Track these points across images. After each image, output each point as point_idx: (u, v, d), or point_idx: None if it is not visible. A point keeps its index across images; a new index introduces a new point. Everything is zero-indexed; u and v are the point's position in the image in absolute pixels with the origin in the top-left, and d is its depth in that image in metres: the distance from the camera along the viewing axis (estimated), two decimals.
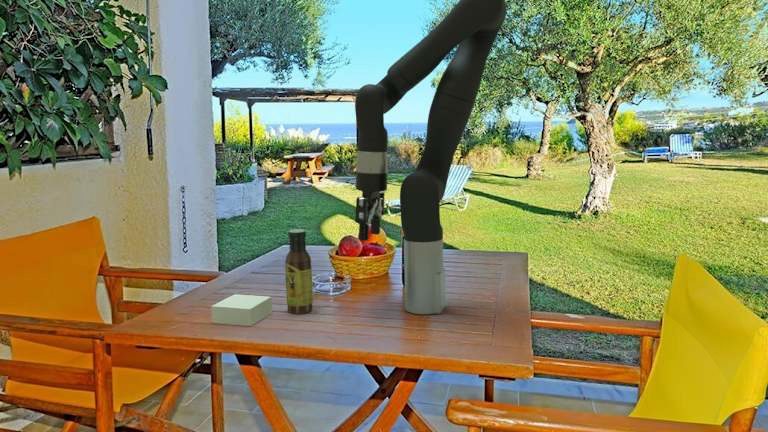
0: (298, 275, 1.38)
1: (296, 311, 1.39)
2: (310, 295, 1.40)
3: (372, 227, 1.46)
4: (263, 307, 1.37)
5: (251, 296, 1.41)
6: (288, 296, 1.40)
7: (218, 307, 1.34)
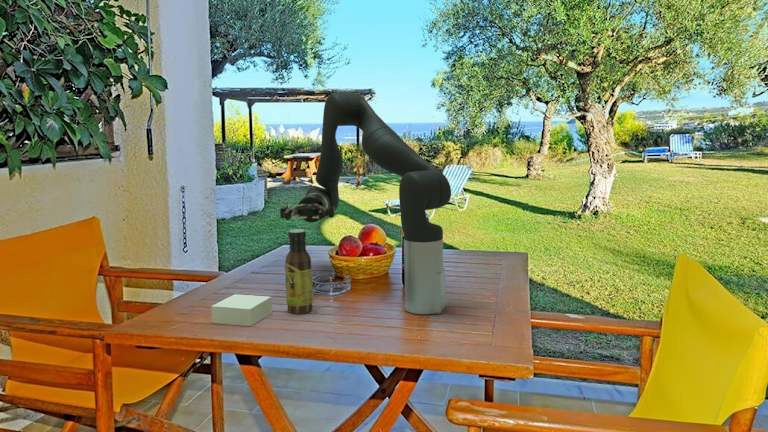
0: (298, 275, 1.38)
1: (296, 311, 1.39)
2: (310, 295, 1.40)
3: None
4: (263, 307, 1.37)
5: (251, 296, 1.41)
6: (288, 296, 1.40)
7: (218, 307, 1.34)
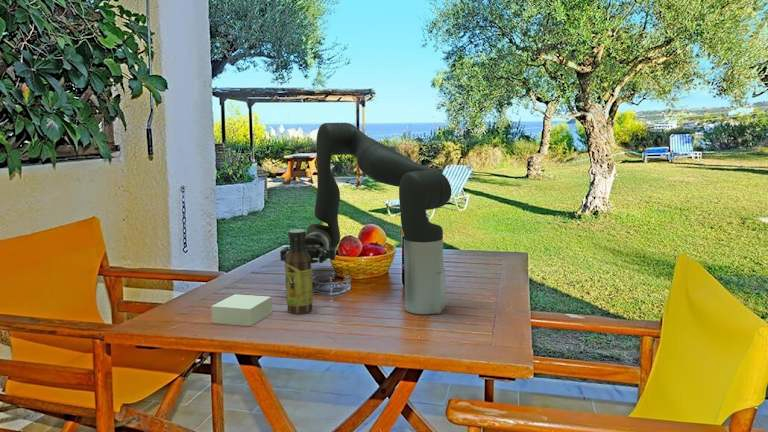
0: (298, 275, 1.38)
1: (296, 311, 1.39)
2: (310, 295, 1.40)
3: None
4: (263, 307, 1.37)
5: (251, 296, 1.41)
6: (288, 296, 1.40)
7: (218, 307, 1.34)
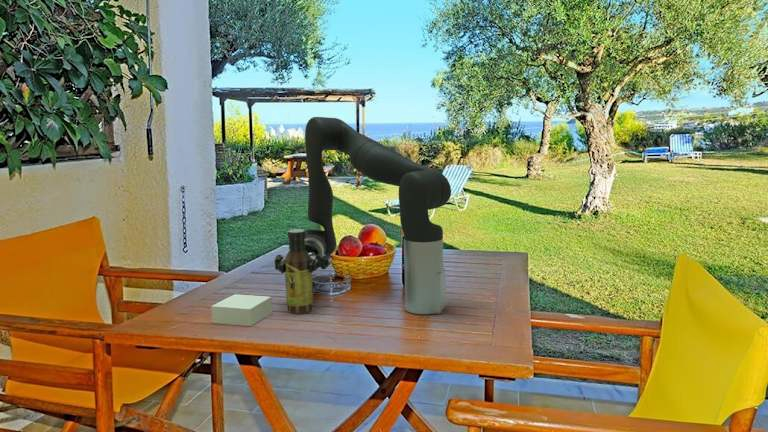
0: (298, 275, 1.38)
1: (296, 311, 1.39)
2: (310, 295, 1.40)
3: None
4: (263, 307, 1.37)
5: (251, 296, 1.41)
6: (288, 296, 1.40)
7: (218, 307, 1.34)
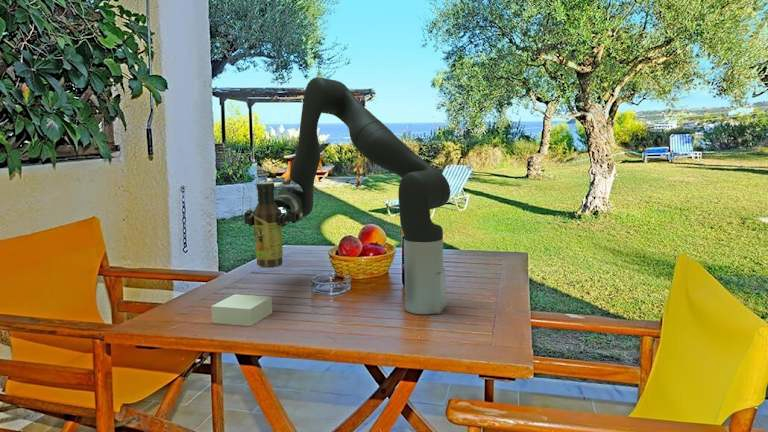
0: (266, 227, 1.35)
1: (265, 265, 1.36)
2: (279, 249, 1.37)
3: None
4: (263, 307, 1.37)
5: (251, 296, 1.41)
6: (257, 250, 1.37)
7: (218, 307, 1.34)
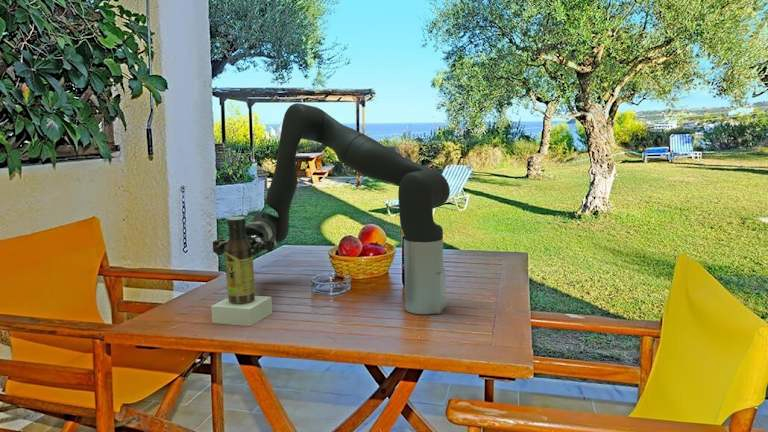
0: (237, 264, 1.33)
1: (236, 301, 1.35)
2: (251, 284, 1.36)
3: None
4: (263, 307, 1.37)
5: None
6: (228, 286, 1.35)
7: (218, 307, 1.34)
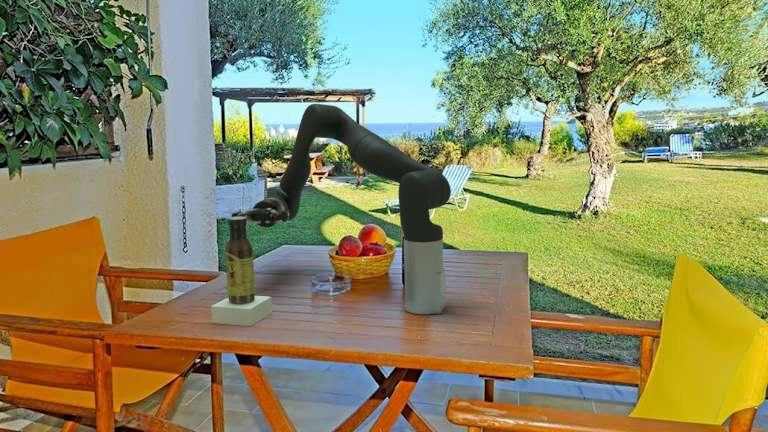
0: (238, 263, 1.33)
1: (236, 301, 1.35)
2: (251, 285, 1.36)
3: None
4: (263, 307, 1.37)
5: None
6: (228, 286, 1.35)
7: (218, 307, 1.34)
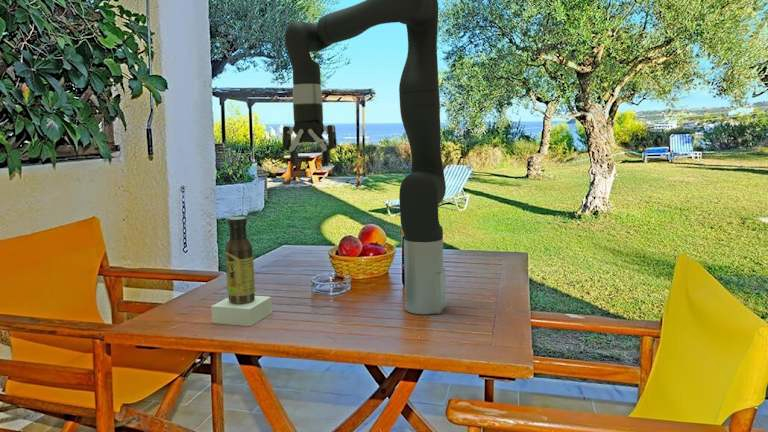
0: (238, 263, 1.33)
1: (236, 301, 1.35)
2: (251, 285, 1.36)
3: None
4: (263, 307, 1.37)
5: None
6: (228, 286, 1.35)
7: (218, 307, 1.34)
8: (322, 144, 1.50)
